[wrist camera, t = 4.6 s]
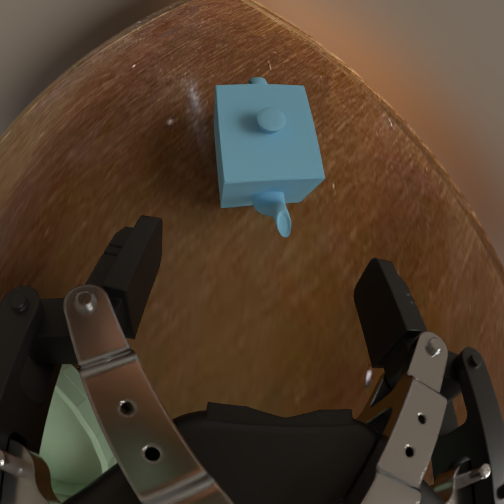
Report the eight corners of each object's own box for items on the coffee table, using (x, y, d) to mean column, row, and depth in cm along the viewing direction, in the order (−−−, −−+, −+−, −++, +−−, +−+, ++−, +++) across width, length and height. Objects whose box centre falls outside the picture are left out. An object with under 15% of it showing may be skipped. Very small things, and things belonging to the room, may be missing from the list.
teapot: (302, 246, 23) (342, 229, 15) (225, 254, 22) (231, 239, 15) (280, 114, 24) (304, 60, 17) (212, 116, 23) (214, 58, 16)
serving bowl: (-1, 451, 16) (-21, 465, 12) (-17, 317, 18) (-45, 320, 14) (126, 506, 18) (117, 533, 13) (124, 368, 20) (106, 386, 16)
